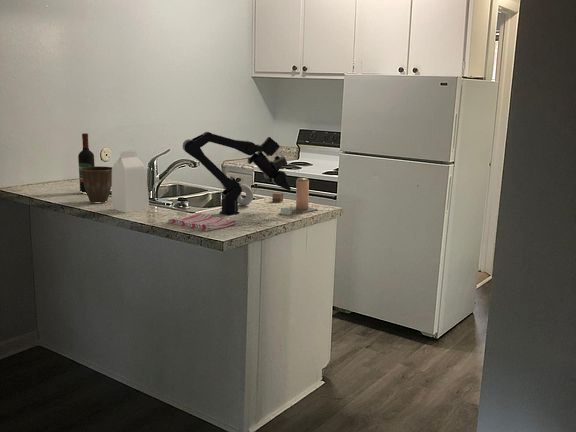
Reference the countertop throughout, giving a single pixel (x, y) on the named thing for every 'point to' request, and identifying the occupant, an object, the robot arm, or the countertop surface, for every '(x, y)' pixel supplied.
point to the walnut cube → (277, 197)
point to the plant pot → (97, 182)
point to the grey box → (286, 210)
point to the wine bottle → (85, 159)
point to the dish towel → (202, 222)
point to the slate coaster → (304, 210)
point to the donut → (248, 195)
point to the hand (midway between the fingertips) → (287, 188)
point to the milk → (129, 183)
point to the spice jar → (302, 193)
